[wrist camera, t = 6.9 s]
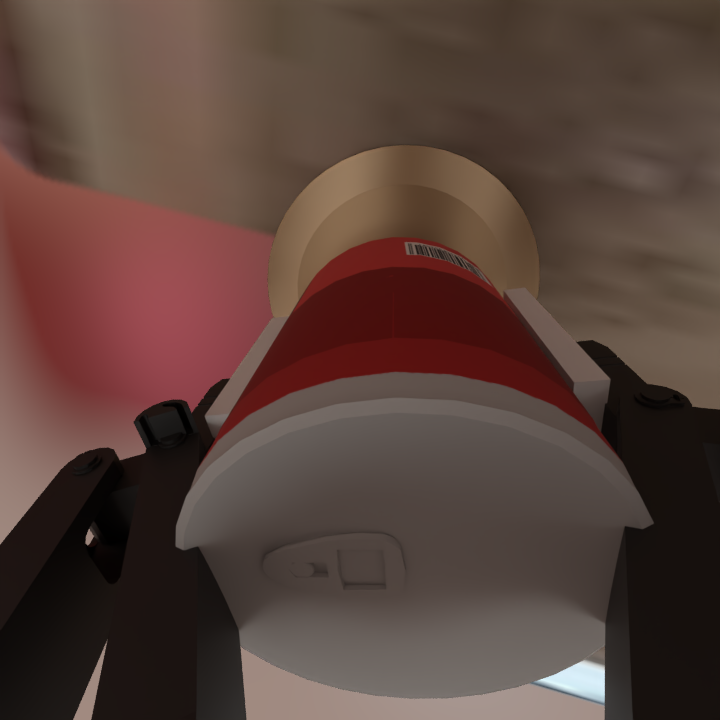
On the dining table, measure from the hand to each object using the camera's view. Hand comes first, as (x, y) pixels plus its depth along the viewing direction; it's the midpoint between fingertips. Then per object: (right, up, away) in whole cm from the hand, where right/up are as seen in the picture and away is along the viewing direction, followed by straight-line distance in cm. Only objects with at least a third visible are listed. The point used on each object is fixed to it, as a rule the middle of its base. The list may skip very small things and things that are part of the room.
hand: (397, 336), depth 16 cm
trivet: (+1, +3, +5) cm, 5 cm away
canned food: (0, 0, +1) cm, 1 cm away
